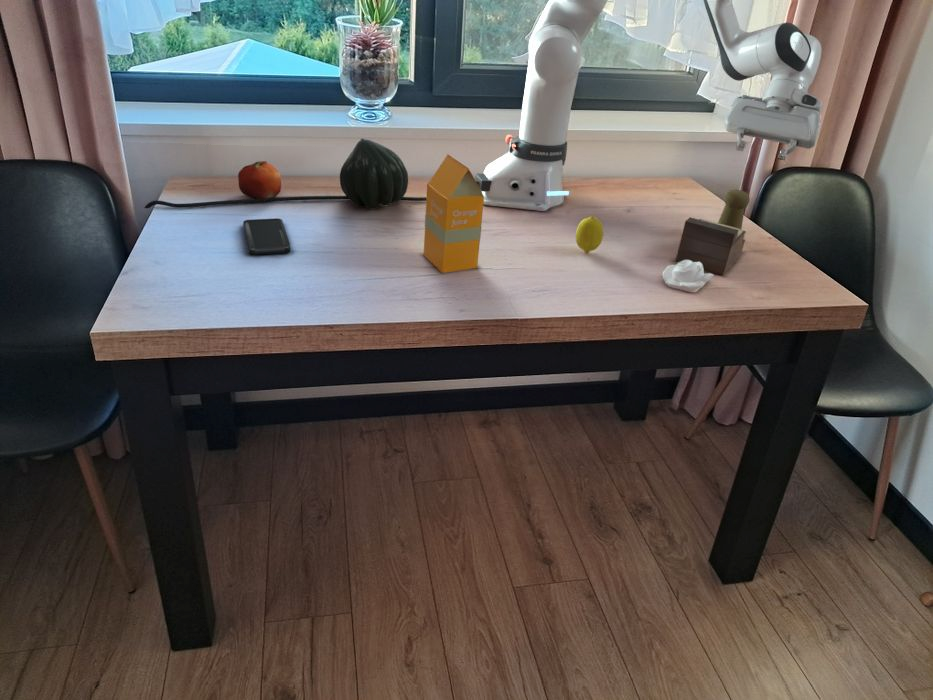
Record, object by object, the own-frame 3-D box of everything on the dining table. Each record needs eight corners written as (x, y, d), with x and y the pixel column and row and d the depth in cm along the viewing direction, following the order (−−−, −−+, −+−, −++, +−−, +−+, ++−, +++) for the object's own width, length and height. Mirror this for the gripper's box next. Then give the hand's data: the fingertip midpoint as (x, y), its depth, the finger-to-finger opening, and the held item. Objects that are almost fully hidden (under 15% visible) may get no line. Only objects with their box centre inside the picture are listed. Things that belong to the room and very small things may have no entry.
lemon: (601, 250, 156) (608, 214, 151) (596, 260, 151) (603, 223, 147) (576, 245, 157) (582, 209, 153) (570, 254, 152) (576, 218, 148)
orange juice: (442, 273, 140) (449, 170, 130) (422, 254, 147) (427, 155, 136) (478, 267, 144) (488, 166, 133) (457, 249, 150) (465, 152, 140)
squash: (425, 189, 163) (402, 126, 163) (364, 201, 155) (340, 135, 156) (401, 213, 175) (379, 154, 176) (343, 225, 168) (321, 164, 168)
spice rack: (696, 240, 165) (706, 201, 160) (741, 252, 160) (753, 213, 156) (675, 261, 153) (685, 221, 149) (722, 275, 149) (734, 234, 145)
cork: (741, 245, 164) (755, 198, 158) (713, 241, 165) (726, 194, 159) (738, 235, 169) (751, 189, 163) (711, 231, 170) (723, 185, 164)
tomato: (290, 197, 167) (289, 162, 163) (260, 208, 161) (258, 172, 156) (261, 187, 171) (258, 153, 167) (230, 197, 165) (227, 162, 160)
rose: (725, 274, 139) (675, 272, 138) (719, 295, 141) (670, 293, 140) (706, 252, 148) (659, 250, 147) (701, 272, 150) (655, 270, 149)
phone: (248, 250, 139) (242, 219, 151) (249, 255, 140) (243, 224, 152) (291, 247, 142) (282, 218, 154) (291, 252, 142) (282, 223, 154)
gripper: (736, 85, 171) (714, 136, 169) (829, 102, 162) (807, 156, 160) (736, 102, 177) (715, 151, 175) (826, 119, 168) (804, 171, 166)
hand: (760, 153), depth 167 cm, fingers open, 8 cm apart
